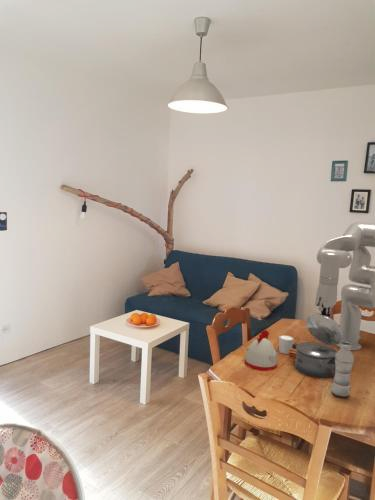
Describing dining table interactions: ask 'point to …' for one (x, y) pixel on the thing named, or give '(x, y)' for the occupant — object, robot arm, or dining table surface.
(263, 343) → the kitchen timer
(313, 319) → the cooker lid
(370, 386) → the dining table surface
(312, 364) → the cooker pot
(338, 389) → the plastic bottle
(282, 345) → the white cylinder
